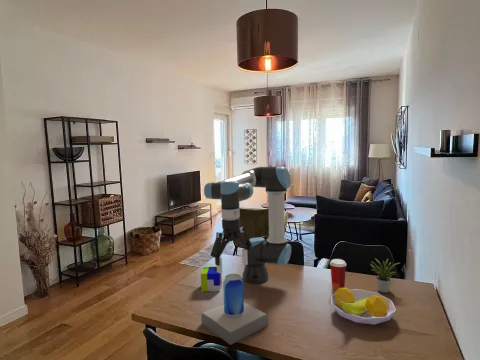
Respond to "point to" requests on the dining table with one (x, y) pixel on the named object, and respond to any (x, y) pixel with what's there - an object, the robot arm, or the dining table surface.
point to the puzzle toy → (210, 279)
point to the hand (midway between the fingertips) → (232, 268)
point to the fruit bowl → (362, 306)
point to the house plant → (383, 276)
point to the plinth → (234, 323)
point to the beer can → (233, 295)
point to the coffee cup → (338, 273)
